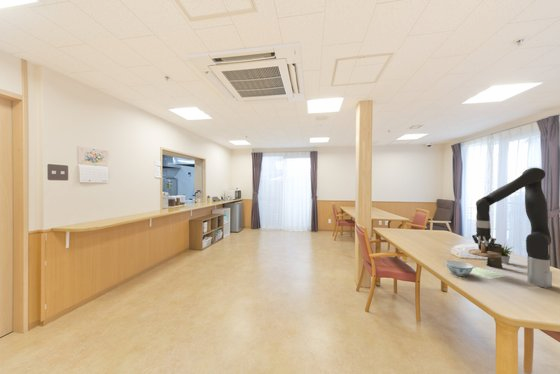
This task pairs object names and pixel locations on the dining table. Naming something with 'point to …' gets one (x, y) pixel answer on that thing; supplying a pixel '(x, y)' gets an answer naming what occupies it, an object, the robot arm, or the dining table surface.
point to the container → (495, 261)
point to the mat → (486, 273)
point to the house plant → (505, 255)
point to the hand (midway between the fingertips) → (483, 250)
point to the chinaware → (459, 267)
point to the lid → (484, 252)
